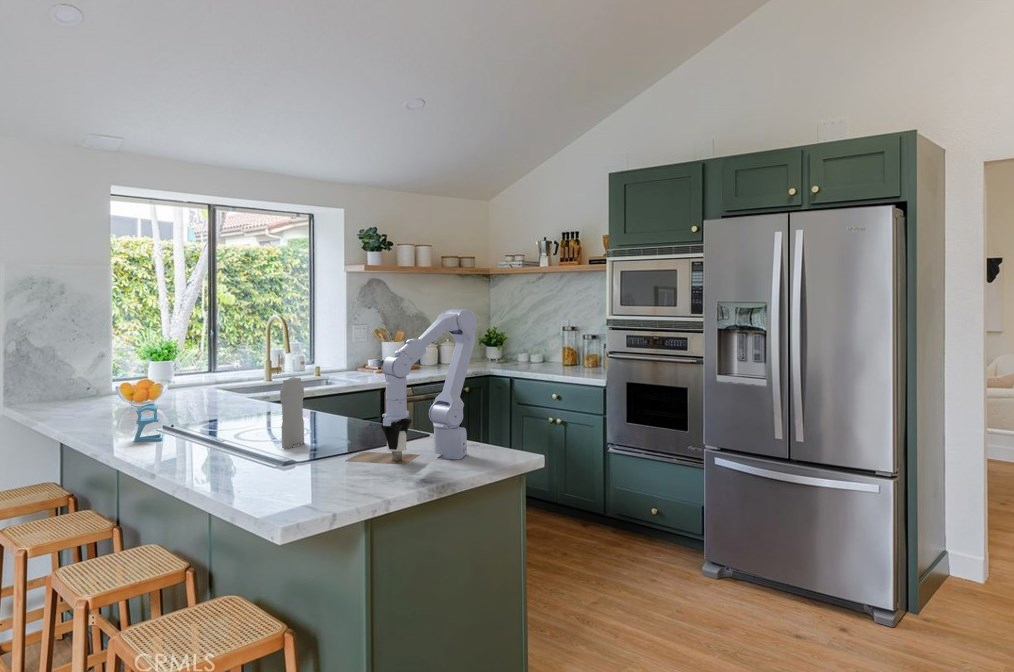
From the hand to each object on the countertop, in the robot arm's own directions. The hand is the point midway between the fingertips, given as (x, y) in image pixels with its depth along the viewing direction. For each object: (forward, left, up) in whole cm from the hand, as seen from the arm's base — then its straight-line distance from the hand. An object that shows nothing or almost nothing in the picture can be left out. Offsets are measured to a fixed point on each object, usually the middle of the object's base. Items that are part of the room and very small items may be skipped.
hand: (396, 447), depth 198 cm
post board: (+5, -2, -5) cm, 8 cm away
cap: (0, 0, -1) cm, 1 cm away
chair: (+94, -15, -6) cm, 95 cm away
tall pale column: (+42, -17, -6) cm, 46 cm away
